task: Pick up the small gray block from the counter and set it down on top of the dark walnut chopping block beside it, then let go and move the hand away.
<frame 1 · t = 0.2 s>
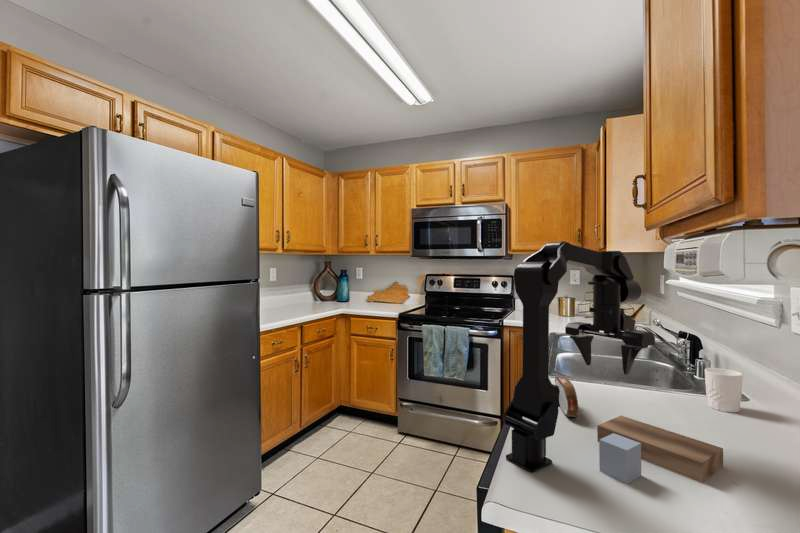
hand: (606, 369, 88), 14 cm above the worktop, tool pointing down, fingers open, 9 cm apart
tin: (565, 411, 100), on the worktop
walnut block: (656, 455, 77), on the worktop
gray block: (620, 473, 70), on the worktop
white cup: (723, 408, 102), on the worktop
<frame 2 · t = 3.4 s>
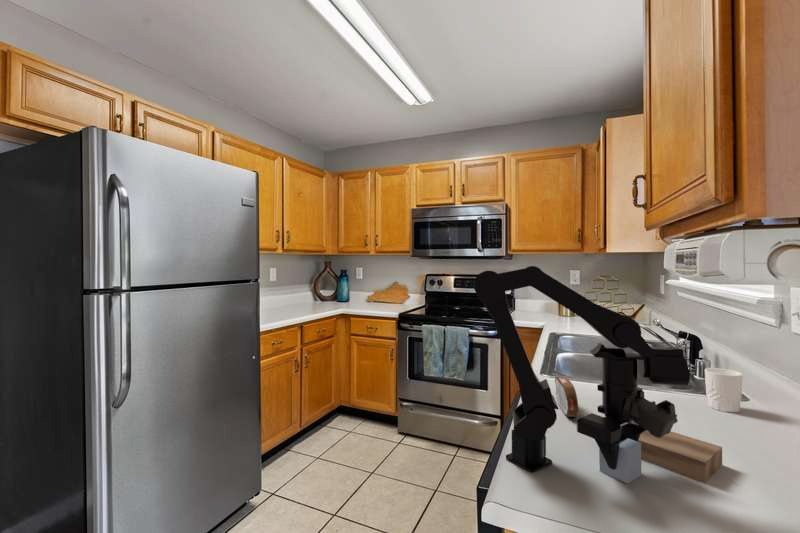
hand: (620, 464, 70), 2 cm above the worktop, tool pointing down, fingers closed on gray block, 5 cm apart
gray block: (620, 473, 70), on the worktop, touching gripper
everything else where it was.
when the fingers open (6 cm above the worktop, at t = 9.3 s): gray block drops 1 cm, resting on walnut block.
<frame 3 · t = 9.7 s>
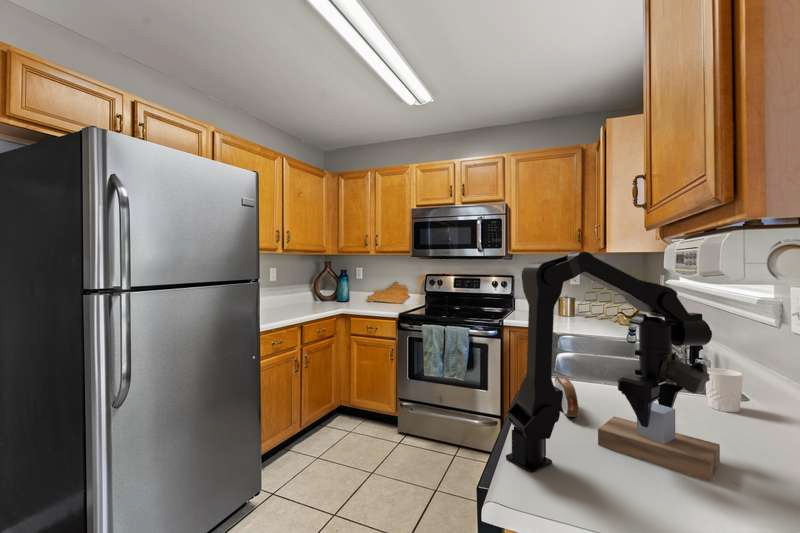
hand: (655, 421, 77), 6 cm above the worktop, tool pointing down, fingers open, 9 cm apart
walnut block: (656, 455, 77), on the worktop, touching gray block
gray block: (655, 436, 77), point 3 cm above the worktop, touching walnut block
everything else where it was.
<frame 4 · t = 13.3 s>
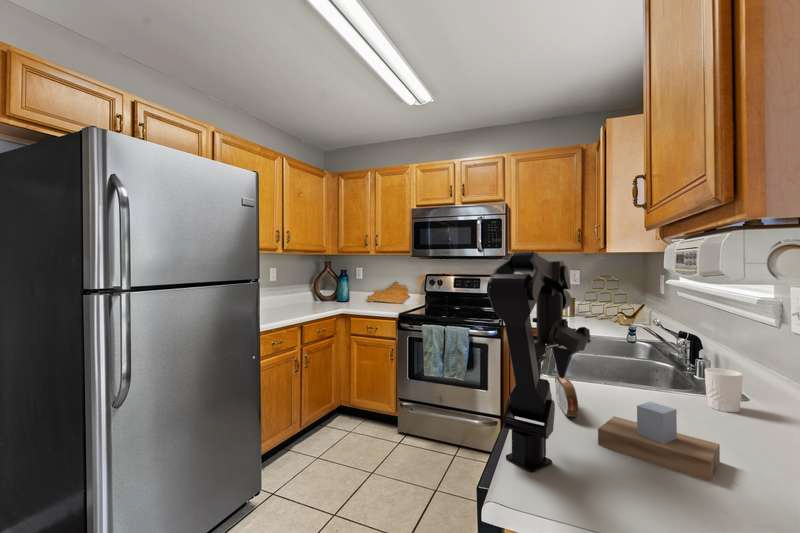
hand: (549, 380, 87), 12 cm above the worktop, tool pointing down, fingers open, 9 cm apart
nothing on the worktop moved.
at the end: gray block inside the target area on the walnut block (0.1 cm from its centre), point 4.0 cm above the walnut block's base; gray block tilted 0°; the gripper is holding nothing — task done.
